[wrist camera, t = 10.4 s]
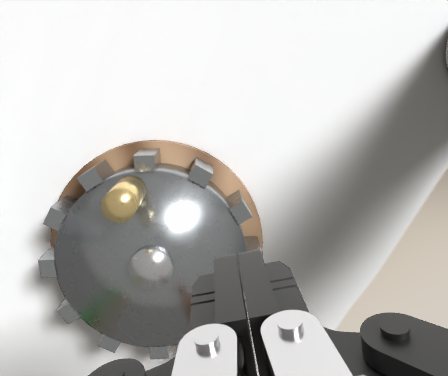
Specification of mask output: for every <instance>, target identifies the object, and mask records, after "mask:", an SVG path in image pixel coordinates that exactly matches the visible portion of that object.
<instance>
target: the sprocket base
mask: <svg viewBox="0 0 448 376" xmlns="http://www.w3.org/2000/svg"><path fill="white" fill-rule="evenodd" d="M141 148H160V157H161V163H169V164H173V165H178V166H182V167H185V168H187V169H190V168H191V166H192V164H193V162H194V161H195V159H196V157H198V158H200V159H202V160H204V161H206V162H208V163H210V164H212V165H213V176H212V177H211V179H210V181H211V182H213V183H214V184H215V185H216V186H217V187H218V188H219V189H220V190H221V191H222V192H223V193H224V194H225V195H226V196H229V195H231V194H232V193H234V192H236V191H237V190H240V192H241V193H242V195H243V196H244V198H245V200H246V201H247V203H248V205H249V208H250V211H251V214H252V218H250V219H248V220H247V221H245V222H243V223H241V226H242V230H243V234H244V236H258V240H259V243H260V246H261V249H262V244H263V241H262V229H261V224H260V219H259V215H258V213H257V210H256V207H255V204H254V202H253V200H252V198H251V196H250V194H249V192H248V190H247V189H246V188H245V186H244V185H243V183H242V182H241V180H240V179H239V178H238V177H237V176H236V175H235V174H234V173H233V172H232V171H231V170H230V169H229V168H228V167H227V166H226V165H224V164H223V163H222V162H221V161H219V160H218V159H216V158H215V157H213V156H211V155H210V154H208V153H206V152H204V151H202V150H199V149H197V148H195V147H192V146H189V145H185V144H182V143H177V142H171V141H160V140H149V141H138V142H133V143H129V144H124V145H122V146H119V147H116V148H113V149H111V150H109V151H107V152H105V153H103V154H101V155H100V156H98V157H96V158H95V159H93V160H92V161H91V162H89V163H88V164H86V165H85V166H84V167H83V168H82V169H81V170H80V171H79V172H78V173H77V174H76V175H75V176H74V177H73V178H72V179H71V181H70V182H69V183H68V184H67V186H66V187H65V189H64V191H63V193H62V194H61V196H60V198H59V200H58V201H60V200H61V199H62V198H64V197H65V196H66V195H69V196H71V197H73V198H75V199H77V200H78V199H79V198H80V197H81V196H82V195H83V194H85V193H86V190H85V189H84V188H83V186H82V185H81V184H80V182H79V181H78V179H77V177H79V176H80V175H82V174H83V173H85V172H86V171H88V170H89V169H91V168H92V167H94V166H95V165H97V164H98V163H100V162H102V161H103V160H105V159H106V160H107V162H108V163H109V165H110V166H111V167H112V169H113V170H114V172H115V171H117V170H119V169H121V168H124V167H127V166H131V165H134V159H133V155H135V154H136V153H137V152H138V151H139V150H140V149H141ZM57 234H58V231H57V230H55V229H53V228H51V247H52V246H53V245H54V244H55V242H56V238H57Z"/></svg>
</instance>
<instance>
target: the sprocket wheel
mask: <svg viewBox="0 0 448 376" xmlns="http://www.w3.org/2000/svg"><path fill="white" fill-rule="evenodd" d="M133 159H134V165H131V166H127V167H124V168H121V169H119V170H117V171H115V172H114V170H113V169H112V167H111V166H110V165H109V163H108V162H107V160H106V159H105V160H103V161H102V162H100V163H98V164H97V165H95V166H94V167H92V168H91V169H89V170H88V171H86V172H85V173H83V174H82V175H80V176H79V177H77V179H78V181H79V182H80V184H81V185H82V186H83V188H84V189H85V190H86V193H85V194H83V195H82V196H81V197H80V198H79V199H78V200H77V199H75V198H73V197H71V196H69V195H66V196H65V197H64V198H62V199H61V200H60V201H58V202H57V203H56V204H54V205H53V206H52V207H51V208H50V210H49V212H48V214H47V217H46V219H45V221H44V223H43V224H44V225H46V226H48V227H51V228H53V229H55V230H57V231H58V234H57V238H56V242H55V244H54V245H53V246H52V247H51V248H50V249H49V250H48V251H47V252H46V253H45V254H44V255H43V256H42V257H41V258H40V259H39V260H38V262H39V268H40V274H41V278H50V277H57V279H58V282H59V285H60V288H61V290H62V292H63V294H64V296H65V299H64V300H63V302H62V303H61V305H60V306H59V308H58V309H57V312H58V313H59V314H60V315H61V316H62V318H63V319H64V320H65V321H66V322H67V324H69V323H71V322H73V321H75V320H76V319H78V318H80V317H81V318H82V319H83V320H84V321H85V322H86V323H87V324H88V325H90V326H91V327H93V328H94V329H95V330H97V331H98V332H100V333H102V334H103V335H102V337H101V339H100V342H99V344H98V346H99V347H102V348H104V349H106V350H109V351H111V352H114V353H115V351H116V349H117V347H118V346H119V344H120V342H123V343H127V344H131V345H136V346H143V347H150V359H167V358H169V351H170V346H171V345H177V344H179V342H180V341H181V339H182V338H183V337H184V336H185V335H186V334H187V333H188V332H189V322H190V309H191V297H192V285H193V284H194V283H195V281H196V280H197V279H198V277H199V276H202V275H207V274H213V273H214V258H215V257H221V256H226V255H232V254H236V257H237V263H238V268H239V274H240V279H241V284H242V290H243V295H244V301H245V306H246V312H247V311H248V309H247V303H246V298H245V292H244V286H243V280H242V275H241V269H240V263H239V258H238V253H243V252H248V251H254V250H259V249H260V251H261V254H262V258H263V252H262V249H261V246H260V243H259V240H258V236H244V234H243V230H242V226H241V223H243V222H245V221H247V220H248V219H250V218H252V214H251V211H250V208H249V205H248V203H247V201H246V200H245V198H244V196H243V195H242V193H241V192H240V190H237V191H236V192H234V193H232V194H231V195H229V196H226V195H225V194H224V193H223V192H222V191H221V190H220V189H219V188H218V187H217V186H216V185H215V184H214V183H213V182H211V181H210V179H211V177H212V176H213V165H212V164H210V163H208V162H206V161H204V160H202V159H200V158H198V157H196V159H195V161H194V162H193V164H192V166H191V168H190V169H187V168H185V167H182V166H178V165H173V164H169V163H161V157H160V148H141V149H140V150H139V151H138V152H137V153H136V154H135V155H133Z"/></svg>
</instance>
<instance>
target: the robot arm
mask: <svg viewBox="0 0 448 376" xmlns="http://www.w3.org/2000/svg"><path fill="white" fill-rule="evenodd" d="M446 63H447V67H448V40H447V46H446ZM238 258H239V263H240V269H241V275H242V280H243V286H244V292H245V298H246V303H247V309H248V315H249V321H250V326H251V331H252V337H253V342H254V348H255V353H256V359H257V364H258V370H259V375H260V376H448V329H446V328H443V327H440V326H437V325H435V324H432V323H429V322H426V321H423V320H420V319H417V318H414V317H412V316H408V315H405V314H400V313H381V314H376V315H373V316H371V317H369V318H367V319H366V320H365V321H364V322H363V323H362V325H361V328H360V333H356V332H339V331H334V330H330V329H327V328H325V327H323V326H322V324H321V323H320V321H319V320H318V318H316V317H315V316H314V315H312V314H311V313H309V311H308V309H307V307H306V304H305V302H304V300H303V298H302V295H301V293H300V291H299V289H298V286H297V284H296V282H295V280H294V278H293V275H292V273H291V271H290V268H289V267H287V266H286V265H284V264H282V263H281V262H273V263H268V264H264V261H263V258H262V254H261V251H260V249H259V250H254V251H248V252H243V253H238ZM88 376H257V371H256V365H255V359H254V353H253V347H252V341H251V336H250V330H249V324H248V318H247V312H246V306H245V301H244V295H243V290H242V284H241V279H240V274H239V268H238V263H237V257H236V254H232V255H226V256H221V257H215V258H214V273H213V274H207V275H202V276H199V277H198V279H197V280H196V281H195V283H194V284H193V285H192V297H191V309H190V322H189V332H188V333H187V334H186V335H185V336H184V337H183V338H182V339H181V341H180V342H179V345H178V348H177V353H176V357H174V358H173V359H171V360H170V361H168V362H166V363H164V364H162V365H160V366H158V367H155V368H153V369H150V370H148V371H146V372H145V369H144V367H143V365H142V364H141V363H140V362H139V361H137V360H134V359H118V360H114V361H111V362H109V363H106V364H104V365H102V366H101V367H99V368H97V369H96V370H95V371H93V372H92V373H91V374H90V375H88Z"/></svg>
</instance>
